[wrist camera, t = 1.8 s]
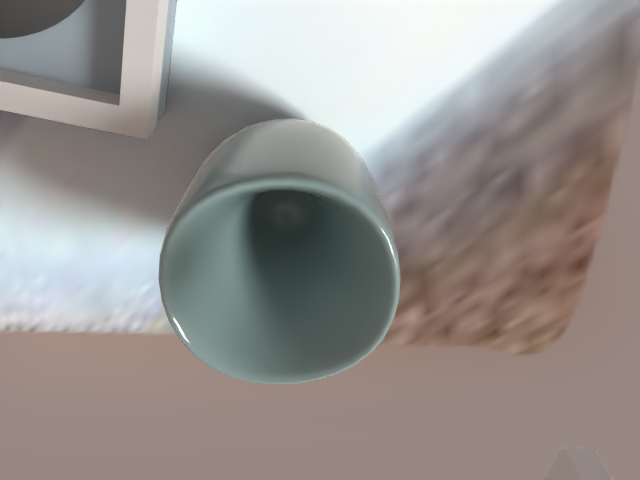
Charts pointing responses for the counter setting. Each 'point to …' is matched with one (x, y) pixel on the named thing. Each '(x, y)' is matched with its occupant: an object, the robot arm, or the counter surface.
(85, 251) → the counter surface
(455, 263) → the counter surface
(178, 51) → the counter surface
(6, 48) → the grey drawer box
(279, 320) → the cup
